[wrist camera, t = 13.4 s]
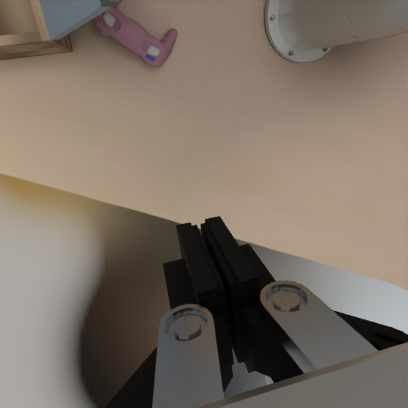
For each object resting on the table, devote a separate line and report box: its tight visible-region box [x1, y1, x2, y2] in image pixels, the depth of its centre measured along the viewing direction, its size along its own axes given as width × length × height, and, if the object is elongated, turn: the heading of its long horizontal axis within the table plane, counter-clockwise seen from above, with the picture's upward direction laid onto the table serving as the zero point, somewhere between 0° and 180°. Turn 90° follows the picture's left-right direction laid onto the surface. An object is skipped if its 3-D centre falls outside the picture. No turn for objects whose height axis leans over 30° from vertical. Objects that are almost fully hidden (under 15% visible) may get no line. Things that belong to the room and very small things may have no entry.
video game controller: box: [93, 6, 177, 67], centre depth 38 cm, size 10×5×7 cm, turn 57°
